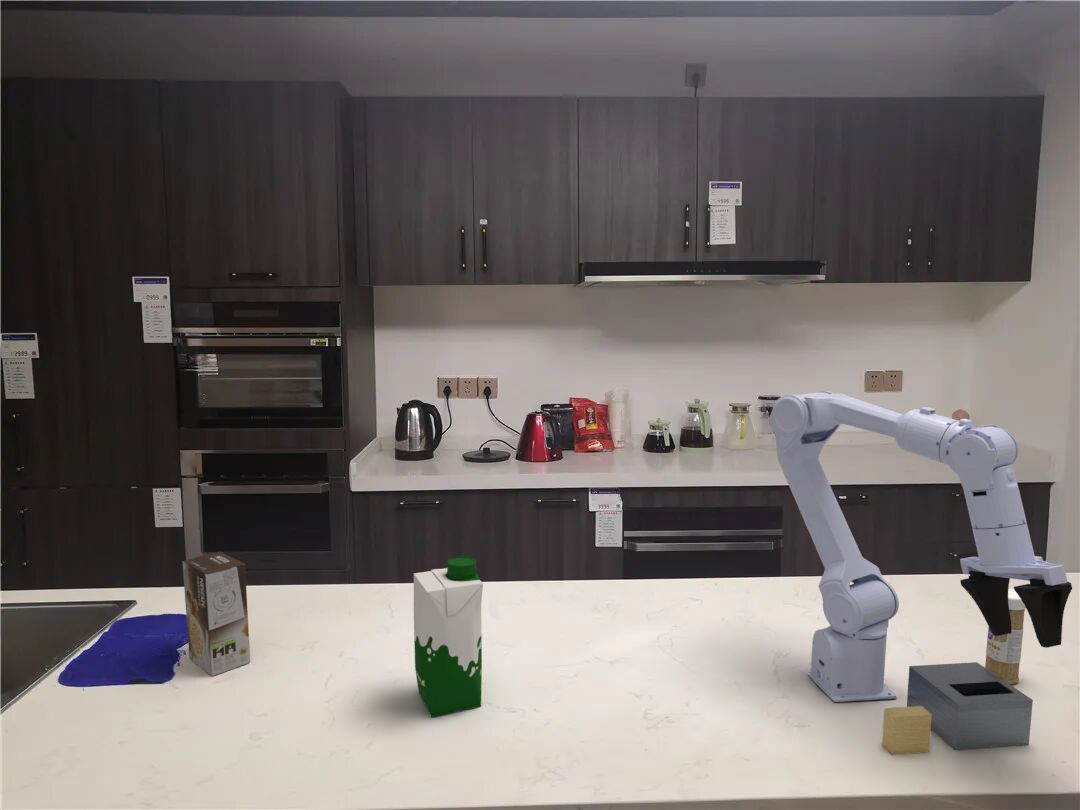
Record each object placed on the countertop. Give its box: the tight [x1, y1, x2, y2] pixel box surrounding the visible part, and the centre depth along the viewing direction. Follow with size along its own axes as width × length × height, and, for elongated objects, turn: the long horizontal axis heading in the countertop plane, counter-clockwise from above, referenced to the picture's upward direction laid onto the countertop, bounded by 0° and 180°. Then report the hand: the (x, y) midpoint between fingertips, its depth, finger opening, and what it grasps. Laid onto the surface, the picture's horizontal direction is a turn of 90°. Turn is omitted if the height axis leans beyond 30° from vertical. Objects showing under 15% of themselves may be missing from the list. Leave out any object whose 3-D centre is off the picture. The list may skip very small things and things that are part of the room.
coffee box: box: [181, 551, 251, 677], centre depth 114 cm, size 9×6×16 cm
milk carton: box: [413, 556, 484, 718], centre depth 102 cm, size 9×9×20 cm
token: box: [881, 706, 932, 756], centre depth 91 cm, size 5×2×5 cm, turn 96°
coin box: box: [906, 661, 1034, 751], centre depth 96 cm, size 10×10×6 cm
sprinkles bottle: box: [984, 587, 1026, 685], centre depth 108 cm, size 5×5×14 cm
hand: (1025, 639), depth 87 cm, fingers open, 7 cm apart
